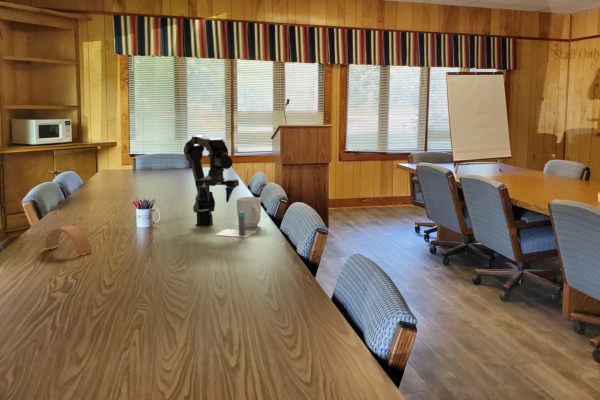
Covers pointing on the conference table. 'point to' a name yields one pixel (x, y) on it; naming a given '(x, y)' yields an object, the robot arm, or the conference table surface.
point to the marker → (241, 223)
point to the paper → (235, 233)
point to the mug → (250, 210)
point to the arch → (76, 236)
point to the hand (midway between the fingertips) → (217, 202)
